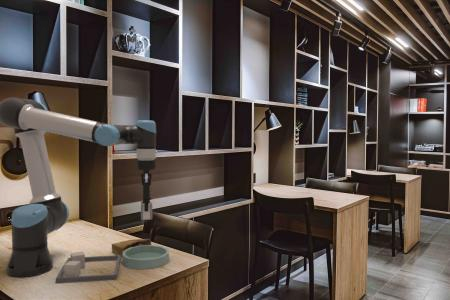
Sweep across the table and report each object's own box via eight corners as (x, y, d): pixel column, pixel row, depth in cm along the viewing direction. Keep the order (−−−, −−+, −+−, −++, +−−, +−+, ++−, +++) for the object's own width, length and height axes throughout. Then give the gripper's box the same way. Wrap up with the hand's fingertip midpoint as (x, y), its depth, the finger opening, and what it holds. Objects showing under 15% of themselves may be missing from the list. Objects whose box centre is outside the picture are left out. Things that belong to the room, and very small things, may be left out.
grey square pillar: (141, 219, 148) (140, 204, 148) (141, 217, 152) (141, 202, 152) (152, 219, 149) (152, 204, 149) (152, 216, 153) (152, 202, 153)
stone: (119, 258, 154) (119, 245, 154) (110, 252, 162) (110, 240, 161) (152, 251, 164) (152, 240, 163) (143, 246, 171) (143, 235, 171)
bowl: (121, 270, 141) (121, 261, 141) (124, 254, 159) (124, 246, 158) (169, 267, 145) (169, 258, 144) (167, 252, 162) (167, 244, 162)
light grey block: (64, 278, 132) (64, 264, 132) (69, 274, 136) (69, 260, 136) (75, 279, 132) (75, 265, 132) (80, 274, 136) (80, 261, 136)
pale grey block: (72, 269, 141) (72, 256, 141) (70, 265, 145) (70, 253, 144) (84, 267, 143) (84, 254, 143) (82, 263, 147) (82, 251, 147)
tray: (55, 283, 128) (55, 278, 128) (68, 261, 149) (68, 257, 149) (116, 279, 132) (116, 274, 132) (120, 258, 153) (120, 255, 153)
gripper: (156, 161, 141) (156, 222, 143) (155, 157, 159) (155, 212, 160) (135, 161, 140) (136, 223, 141) (137, 157, 157) (137, 213, 158)
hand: (146, 217), depth 151 cm, fingers closed on grey square pillar, 4 cm apart
